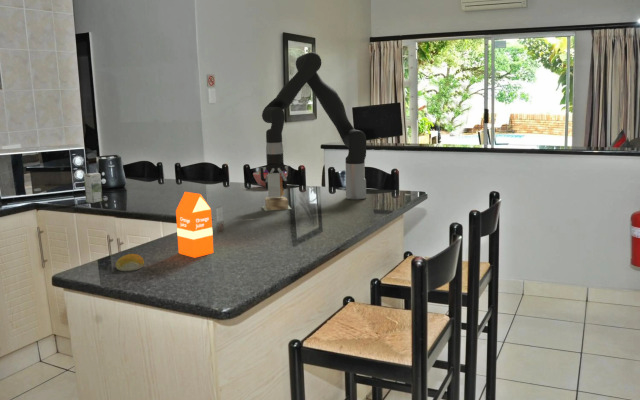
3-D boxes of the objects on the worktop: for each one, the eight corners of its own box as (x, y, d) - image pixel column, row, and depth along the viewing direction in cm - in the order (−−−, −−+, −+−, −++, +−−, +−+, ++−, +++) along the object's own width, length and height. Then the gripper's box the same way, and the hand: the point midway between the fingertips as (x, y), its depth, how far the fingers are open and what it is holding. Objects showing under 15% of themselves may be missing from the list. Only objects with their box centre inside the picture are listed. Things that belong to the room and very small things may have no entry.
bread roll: (144, 262, 183) (143, 249, 182) (144, 270, 174) (143, 257, 174) (116, 265, 180) (115, 252, 180) (115, 273, 172) (114, 259, 171)
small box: (280, 197, 258) (279, 173, 256) (268, 197, 259) (267, 173, 257) (284, 194, 266) (283, 171, 264) (272, 194, 267) (271, 171, 265)
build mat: (288, 206, 269) (288, 204, 269) (291, 210, 260) (291, 208, 260) (262, 207, 267) (262, 206, 267) (264, 211, 257) (264, 210, 257)
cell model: (253, 185, 335) (252, 165, 333) (288, 184, 337) (287, 164, 335) (253, 190, 319) (252, 169, 317) (290, 188, 321) (289, 168, 319)
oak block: (284, 205, 268) (284, 196, 268) (288, 208, 260) (287, 199, 259) (265, 206, 267) (265, 197, 266) (267, 210, 258) (267, 201, 257)
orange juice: (194, 257, 186) (190, 195, 182) (178, 253, 191) (174, 193, 188) (214, 252, 191) (210, 192, 188) (197, 248, 197) (194, 190, 194)
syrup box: (96, 200, 296) (93, 172, 294) (103, 201, 293) (100, 172, 290) (85, 202, 291) (83, 173, 289) (92, 203, 288) (90, 174, 286)
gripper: (289, 151, 264) (290, 187, 267) (257, 152, 261) (259, 189, 264) (292, 152, 257) (293, 189, 260) (259, 154, 254) (261, 191, 257)
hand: (276, 189), depth 262 cm, fingers closed on small box, 7 cm apart
